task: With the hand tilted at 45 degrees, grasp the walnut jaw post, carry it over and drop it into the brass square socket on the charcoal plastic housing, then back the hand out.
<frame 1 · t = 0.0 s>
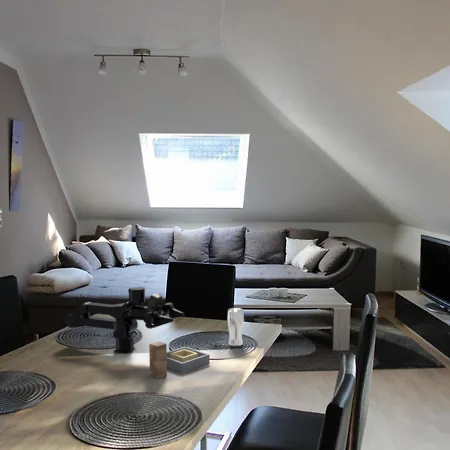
hand: (178, 317, 216), 17 cm above the table, tool horizontal, fingers open, 9 cm apart
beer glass: (235, 344, 235), on the table
housing: (183, 363, 211), on the table
jaw post: (158, 375, 198), on the table
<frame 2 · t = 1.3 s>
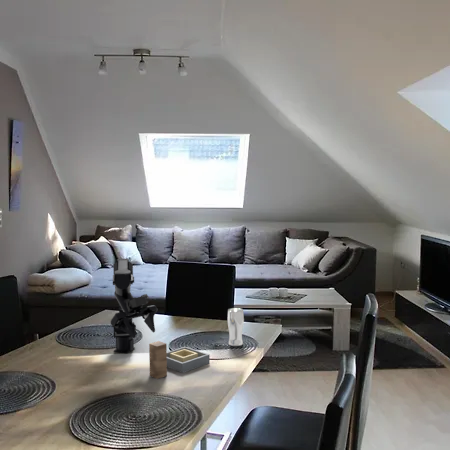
hand: (144, 334, 203), 14 cm above the table, tool tilted 45°, fingers open, 9 cm apart
nothing on the table moved.
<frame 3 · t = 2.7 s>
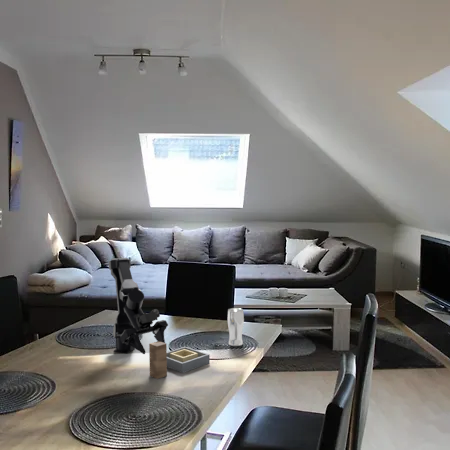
hand: (154, 350, 199), 9 cm above the table, tool tilted 45°, fingers open, 9 cm apart
nothing on the table moved.
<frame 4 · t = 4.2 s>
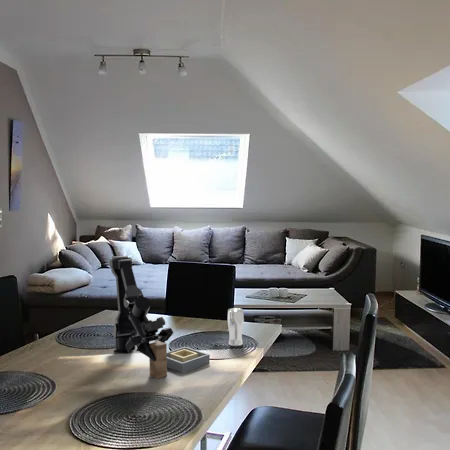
hand: (160, 359, 197), 7 cm above the table, tool tilted 45°, fingers closed on jaw post, 4 cm apart
jaw post: (158, 375, 198), on the table, touching gripper
everything else where it was.
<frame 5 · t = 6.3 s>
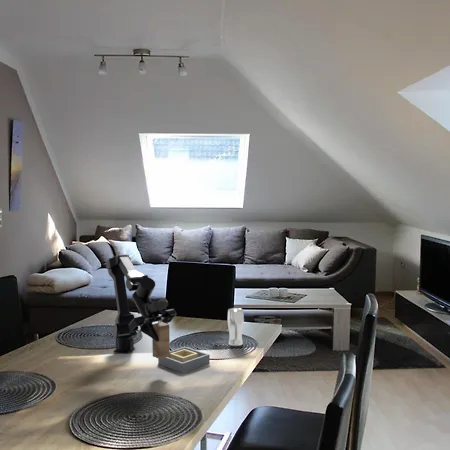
hand: (163, 339, 198), 13 cm above the table, tool tilted 45°, fingers closed on jaw post, 4 cm apart
jaw post: (161, 356, 199), point 7 cm above the table, touching gripper
everything else where it was.
when the fingers open (9 cm above the table, at t = 8.8 s): jaw post drops 1 cm, resting on housing.
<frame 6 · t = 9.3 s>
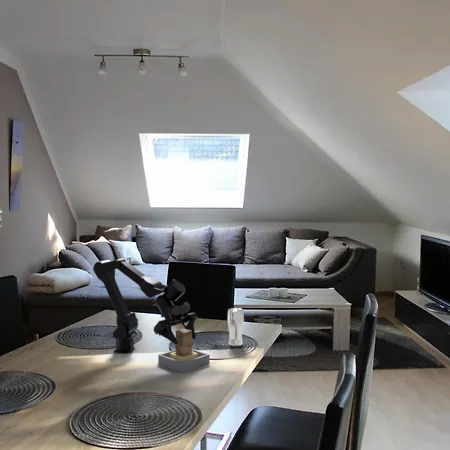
hand: (186, 341, 209), 9 cm above the table, tool tilted 45°, fingers open, 9 cm apart
jaw post: (183, 361, 211), point 1 cm above the table, touching housing
everything else where it was.
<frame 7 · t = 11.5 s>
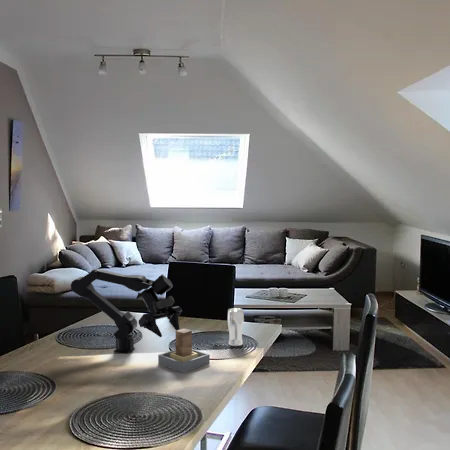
hand: (170, 334, 216), 10 cm above the table, tool tilted 45°, fingers open, 9 cm apart
nothing on the table moved.
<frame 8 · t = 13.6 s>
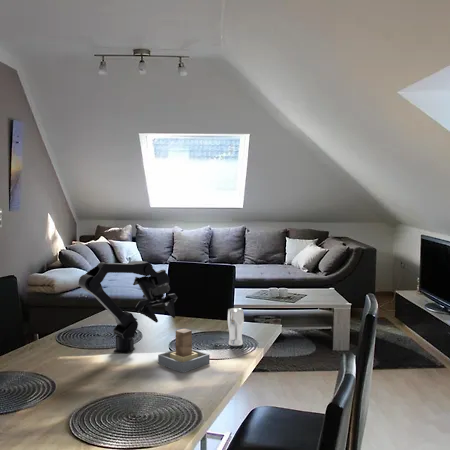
hand: (166, 319, 223), 14 cm above the table, tool tilted 45°, fingers open, 9 cm apart
nothing on the table moved.
at the end: jaw post 0.1 cm off-centre on the housing, point 1.0 cm above the housing's base; jaw post tilted 0°; the gripper is holding nothing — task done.
